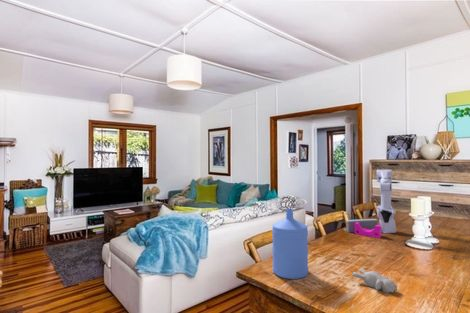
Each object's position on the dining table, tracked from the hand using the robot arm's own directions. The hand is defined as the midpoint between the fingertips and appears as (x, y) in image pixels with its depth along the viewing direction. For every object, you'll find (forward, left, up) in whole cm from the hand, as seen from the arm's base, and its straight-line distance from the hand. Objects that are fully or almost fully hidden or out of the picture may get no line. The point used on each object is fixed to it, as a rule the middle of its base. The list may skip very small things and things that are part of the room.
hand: (386, 222), depth 172 cm
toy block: (+8, -7, -10) cm, 14 cm away
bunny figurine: (+52, +57, -10) cm, 78 cm away
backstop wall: (+6, -18, -9) cm, 21 cm away
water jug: (+80, +39, -10) cm, 90 cm away
